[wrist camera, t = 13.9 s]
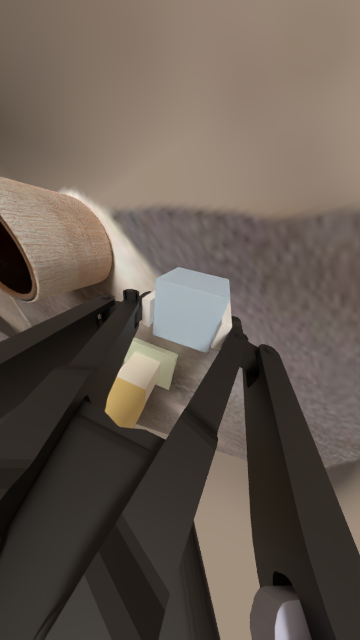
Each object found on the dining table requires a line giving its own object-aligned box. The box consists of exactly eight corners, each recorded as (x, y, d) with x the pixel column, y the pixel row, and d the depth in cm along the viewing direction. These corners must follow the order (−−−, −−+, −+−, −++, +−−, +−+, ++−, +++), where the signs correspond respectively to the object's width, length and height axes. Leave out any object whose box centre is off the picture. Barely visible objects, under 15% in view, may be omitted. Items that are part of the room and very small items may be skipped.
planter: (126, 275, 19) (59, 296, 12) (82, 286, 24) (11, 308, 16) (87, 179, 15) (-72, 108, 7) (40, 215, 19) (-90, 196, 11)
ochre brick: (118, 392, 25) (92, 428, 20) (114, 375, 22) (82, 413, 17) (145, 405, 24) (124, 446, 19) (145, 390, 21) (120, 434, 16)
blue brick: (172, 310, 19) (152, 334, 14) (178, 267, 15) (155, 278, 10) (212, 322, 18) (207, 353, 13) (228, 279, 14) (230, 298, 9)
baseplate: (128, 368, 33) (107, 393, 28) (124, 333, 27) (96, 358, 21) (170, 386, 31) (157, 418, 26) (178, 354, 25) (163, 387, 19)
